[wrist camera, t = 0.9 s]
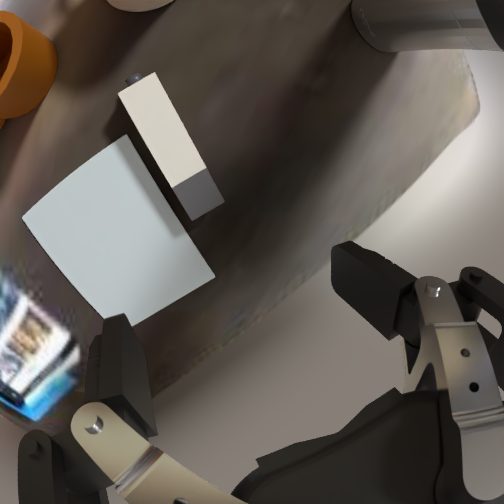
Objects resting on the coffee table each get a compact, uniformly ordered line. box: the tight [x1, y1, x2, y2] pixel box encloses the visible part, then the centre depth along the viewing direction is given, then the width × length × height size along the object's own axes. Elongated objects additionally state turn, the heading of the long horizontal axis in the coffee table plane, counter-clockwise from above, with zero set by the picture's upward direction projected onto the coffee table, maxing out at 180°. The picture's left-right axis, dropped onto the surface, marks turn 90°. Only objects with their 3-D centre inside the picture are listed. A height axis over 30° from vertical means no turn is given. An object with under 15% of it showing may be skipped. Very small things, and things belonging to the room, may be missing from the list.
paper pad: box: [22, 134, 215, 326], centre depth 27 cm, size 14×18×1 cm
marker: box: [118, 72, 225, 221], centre depth 23 cm, size 14×3×3 cm, turn 26°
